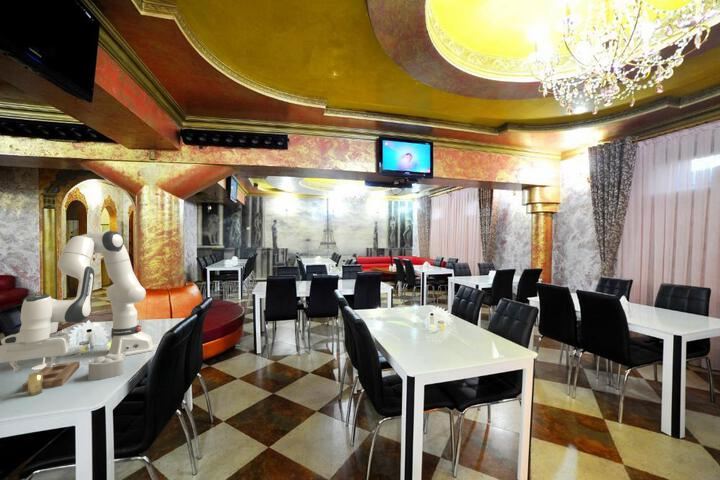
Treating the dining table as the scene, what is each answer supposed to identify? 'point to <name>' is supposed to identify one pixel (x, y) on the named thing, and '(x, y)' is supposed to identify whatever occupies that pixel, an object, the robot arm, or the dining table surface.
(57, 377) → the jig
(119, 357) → the lumpy-topped squat cylinder
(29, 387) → the bushing
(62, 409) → the dining table surface
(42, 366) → the wineglass
